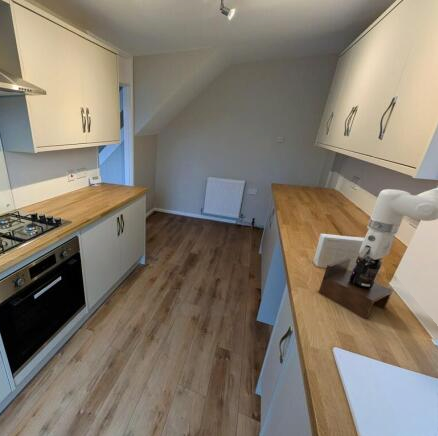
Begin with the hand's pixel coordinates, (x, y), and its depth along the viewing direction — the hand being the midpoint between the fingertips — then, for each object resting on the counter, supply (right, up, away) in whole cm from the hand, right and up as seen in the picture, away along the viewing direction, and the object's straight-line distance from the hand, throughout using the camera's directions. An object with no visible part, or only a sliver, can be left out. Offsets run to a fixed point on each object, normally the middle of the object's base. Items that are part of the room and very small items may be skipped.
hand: (365, 270), depth 87 cm
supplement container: (0, -6, +2) cm, 6 cm away
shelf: (-1, -13, +6) cm, 14 cm away
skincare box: (+13, -5, +28) cm, 31 cm away
